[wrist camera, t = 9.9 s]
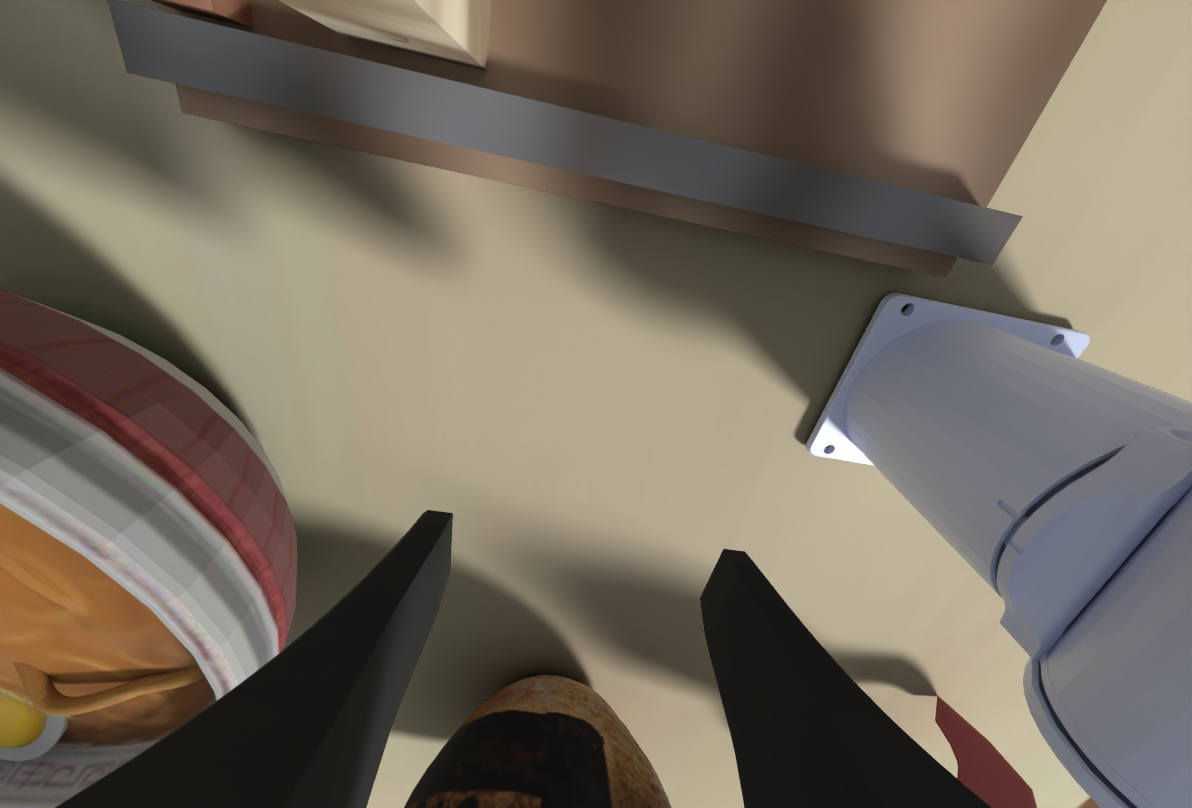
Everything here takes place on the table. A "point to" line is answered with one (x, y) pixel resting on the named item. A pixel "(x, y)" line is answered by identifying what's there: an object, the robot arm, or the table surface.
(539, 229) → the table surface
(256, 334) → the table surface
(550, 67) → the board
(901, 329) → the robot arm
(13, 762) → the bowl
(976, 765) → the toy
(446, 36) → the block
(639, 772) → the ceramic vessel
